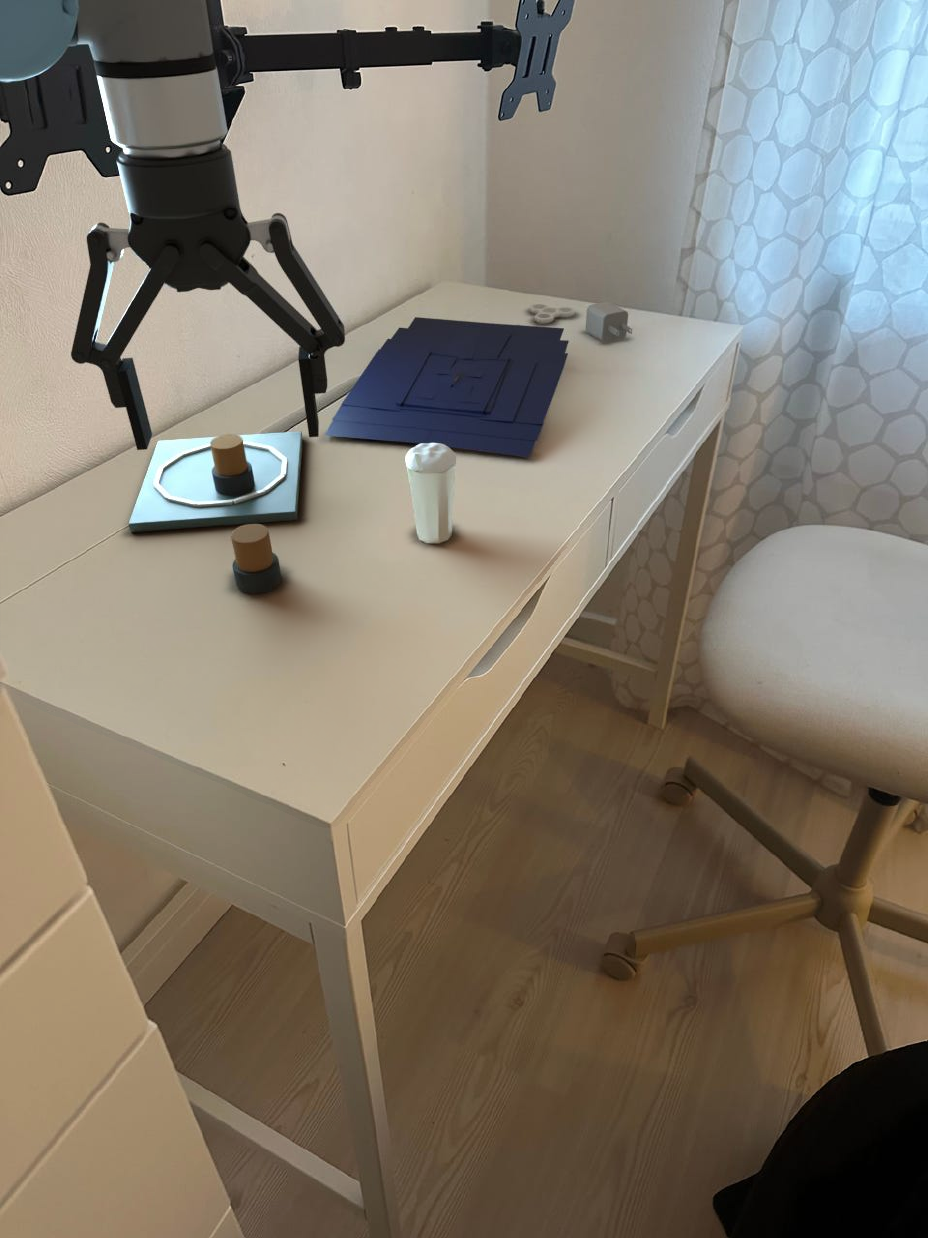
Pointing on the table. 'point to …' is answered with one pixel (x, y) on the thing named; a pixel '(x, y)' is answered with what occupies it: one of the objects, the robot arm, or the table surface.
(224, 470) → the stamp
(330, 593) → the table surface
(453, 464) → the milkshake
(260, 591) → the stamp
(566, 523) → the table surface
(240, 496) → the slate board
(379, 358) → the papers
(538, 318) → the fidget spinner
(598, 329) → the usb wall charger
